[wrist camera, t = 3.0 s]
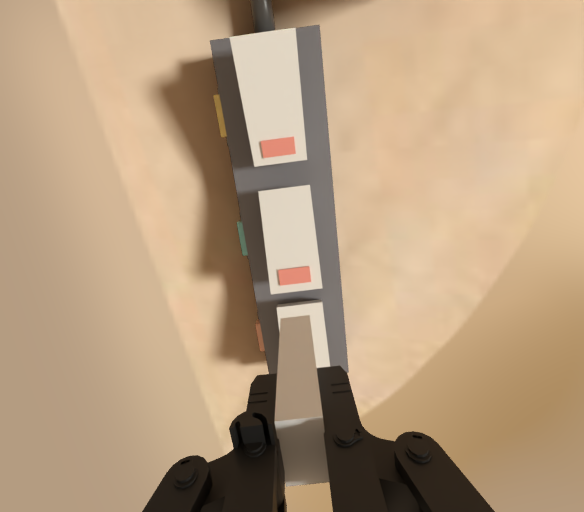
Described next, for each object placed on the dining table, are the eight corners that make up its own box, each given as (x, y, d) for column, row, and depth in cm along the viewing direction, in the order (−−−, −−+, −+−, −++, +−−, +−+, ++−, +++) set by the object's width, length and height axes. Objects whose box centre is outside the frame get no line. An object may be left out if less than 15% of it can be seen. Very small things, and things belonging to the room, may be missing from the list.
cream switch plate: (261, 196, 25) (258, 190, 23) (309, 189, 25) (309, 184, 23) (273, 291, 25) (270, 294, 23) (321, 286, 25) (322, 288, 23)
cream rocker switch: (278, 304, 28) (276, 307, 26) (321, 299, 28) (322, 302, 26) (288, 390, 28) (287, 400, 26) (331, 385, 28) (333, 395, 26)
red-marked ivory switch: (232, 37, 20) (229, 37, 18) (294, 28, 20) (295, 27, 18) (255, 159, 24) (254, 167, 23) (305, 152, 24) (307, 160, 23)
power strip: (198, -31, 24) (178, -75, 19) (307, -48, 24) (311, -96, 19) (267, 360, 35) (264, 389, 30) (342, 351, 34) (350, 379, 30)
